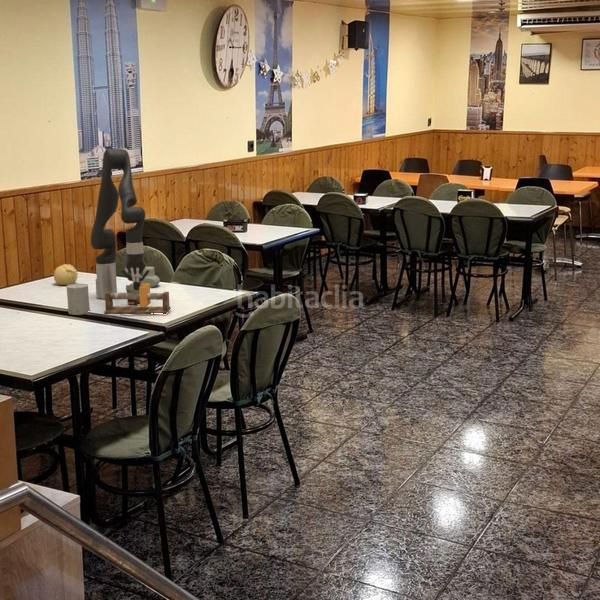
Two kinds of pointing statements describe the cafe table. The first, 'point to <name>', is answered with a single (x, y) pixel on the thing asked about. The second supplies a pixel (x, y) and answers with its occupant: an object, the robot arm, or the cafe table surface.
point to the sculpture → (65, 275)
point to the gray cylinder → (78, 299)
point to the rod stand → (136, 310)
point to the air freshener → (151, 278)
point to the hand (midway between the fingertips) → (137, 290)
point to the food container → (131, 290)
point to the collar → (144, 294)
